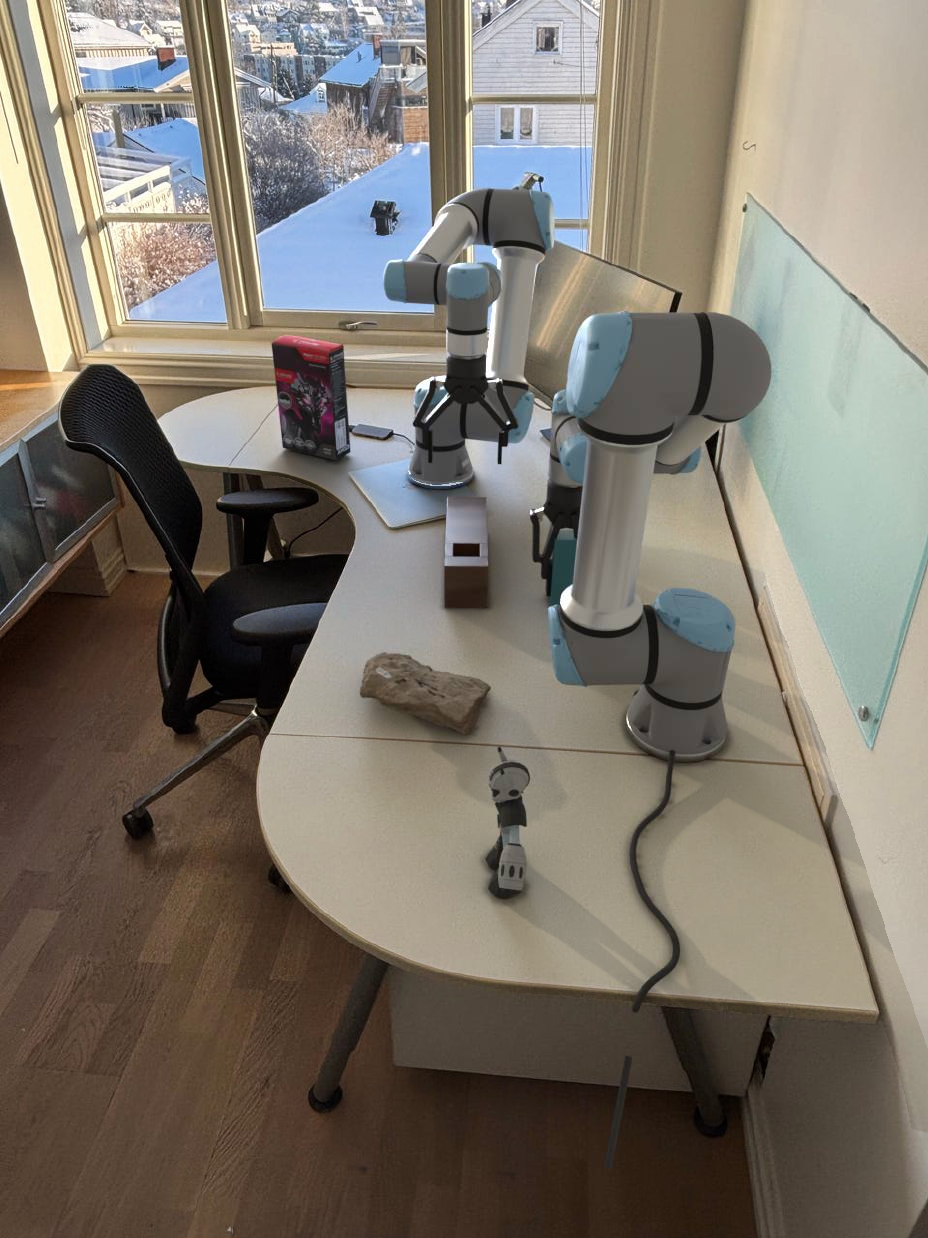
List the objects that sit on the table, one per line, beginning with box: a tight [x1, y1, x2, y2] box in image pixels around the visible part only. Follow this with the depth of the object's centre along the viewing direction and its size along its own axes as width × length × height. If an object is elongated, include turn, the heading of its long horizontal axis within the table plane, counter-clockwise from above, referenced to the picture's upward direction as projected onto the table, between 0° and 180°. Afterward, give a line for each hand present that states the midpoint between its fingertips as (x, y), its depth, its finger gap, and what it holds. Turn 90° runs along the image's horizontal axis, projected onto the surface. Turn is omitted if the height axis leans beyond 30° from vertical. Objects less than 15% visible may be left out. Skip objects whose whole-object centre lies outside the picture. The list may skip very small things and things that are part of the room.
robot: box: [485, 746, 531, 899], centre depth 114 cm, size 20×5×20 cm, turn 3°
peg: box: [548, 529, 577, 606], centre depth 170 cm, size 4×4×14 cm
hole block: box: [443, 496, 489, 609], centre depth 181 cm, size 28×8×9 cm, turn 0°
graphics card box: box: [271, 334, 351, 461], centre depth 223 cm, size 17×7×27 cm, turn 62°
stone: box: [359, 651, 492, 735], centre depth 146 cm, size 21×15×6 cm
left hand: (464, 461), depth 182 cm, fingers open, 13 cm apart
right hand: (560, 592), depth 173 cm, fingers closed on peg, 4 cm apart
